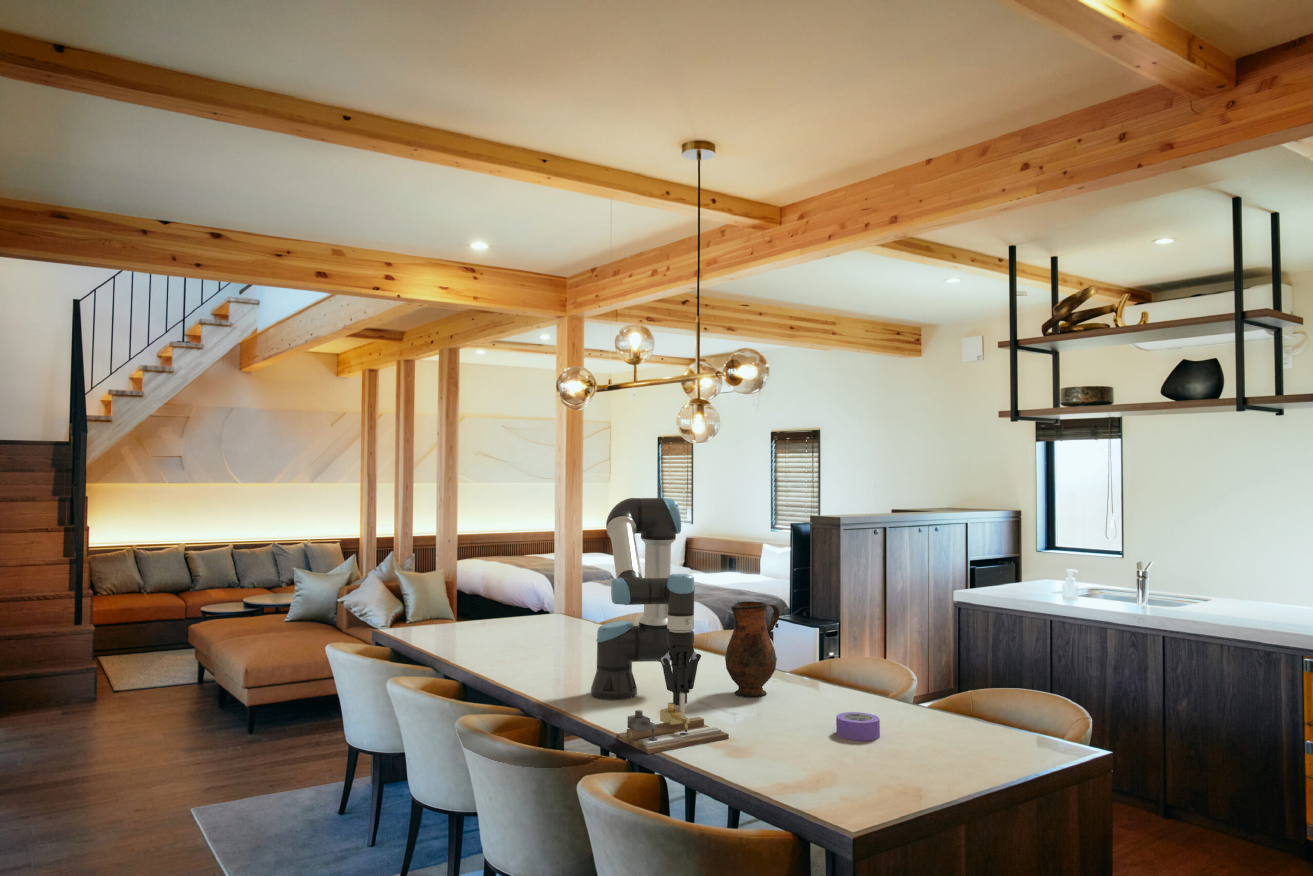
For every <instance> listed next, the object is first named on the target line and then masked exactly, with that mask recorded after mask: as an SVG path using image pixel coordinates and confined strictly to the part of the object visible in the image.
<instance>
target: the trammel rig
mask: <svg viewBox="0 0 1313 876" xmlns="http://www.w3.org/2000/svg"><path fill="white" fill-rule="evenodd" d="M643 714H644V713H643V710H640V709H637V710H635V711H634V714H633V715H627V723H626V724H627V729H626V731H625V732H620V733H616V734H615V736H616V737H615V739H616V740H618V741H621V742H622V743H624V744H627V745H629V746H630V747H631V746H632V747H634V748H635V749H637V750H640V751H641V752H643V753H646V754H647V755H650V754H655V753H661V752H666V751H671V750H675V749H677V750H678V749H681V748H686V747H691V746H697V745H702V744H707V743H713V742H717V741H722V740H723V741H724V740H728V739H729V733H727V732H724V731H723V730H722V729H720V728H718V727H715V726H709V725H706V724H705V719H704V718H703V717H701V716H696V717H691V718H689V717H688V718H689V719H690V723H688V732H685V723H684V722H682V723H679V724H674V725H669V724H667V723H664V722H662V723H661V722H660V723H655V722H652V721H651V718H650V717H648V716H646V715H643Z"/></svg>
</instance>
